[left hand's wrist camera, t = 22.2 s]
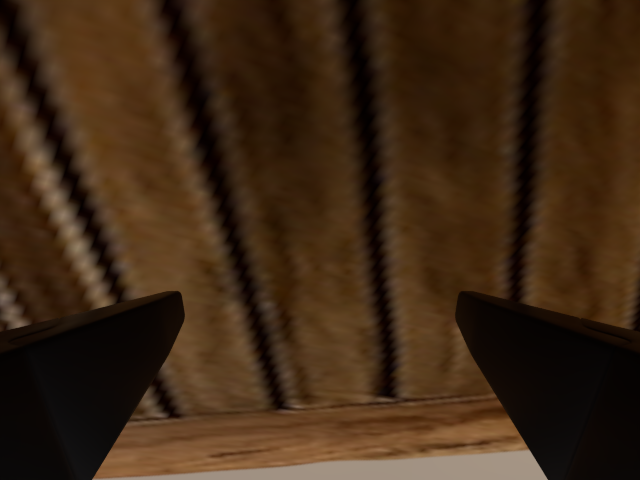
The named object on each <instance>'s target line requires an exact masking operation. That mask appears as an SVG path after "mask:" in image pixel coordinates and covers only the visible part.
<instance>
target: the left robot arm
mask: <svg viewBox="0 0 640 480" xmlns="http://www.w3.org/2000/svg"><path fill="white" fill-rule="evenodd" d="M184 318H185V312H184V306H183V300H182V295H181V293H180V292H179V291H166V292H162V293H158V294H154V295H150V296H146V297H142V298H138V299H134V300H130V301H126V302H122V303H118V304H114V305H110V306H106V307H102V308H98V309H94V310H90V311H86V312H82V313H78V314H74V315H70V316H66V317H62V318H60V319H59V318H57V319H52V320H48V321H44V322H40V323H36V324H32V325H28V326H24V327H19V328H15V329H11V330H6V331H2V332H0V480H92V479H93V477H94V476H95V474H96V472H97V471H98V469H99V467H100V466H101V464H102V463H103V461H104V459H105V458H106V456H107V454H108V453H109V451H110V450H111V448H112V446H113V445H114V443H115V441H116V440H117V438H118V437H119V435H120V433H121V432H122V430H123V428H124V427H125V425H126V424H127V422H128V420H129V419H130V417H131V415H132V414H133V412H134V411H135V409H136V407H137V406H138V404H139V402H140V401H141V399H142V397H143V396H144V394H145V393H146V391H147V389H148V388H149V386H150V384H151V383H152V381H153V380H154V378H155V376H156V375H157V373H158V371H159V370H160V368H161V367H162V365H163V363H164V362H165V360H166V358H167V357H168V355H169V353H170V351H171V349H172V347H173V344H174V342H175V340H176V338H177V336H178V333H179V331H180V329H181V327H182V324H183V322H184ZM455 318H456V322H457V324H458V327H459V329H460V331H461V333H462V336H463V338H464V340H465V342H466V344H467V347H468V349H469V351H470V353H471V355H472V357H473V358H474V360H475V362H476V363H477V365H478V367H479V368H480V370H481V371H482V373H483V375H484V376H485V378H486V380H487V381H488V383H489V384H490V386H491V388H492V389H493V391H494V393H495V394H496V396H497V397H498V399H499V401H500V402H501V404H502V406H503V407H504V409H505V410H506V412H507V414H508V415H509V417H510V419H511V420H512V422H513V424H514V425H515V427H516V428H517V430H518V432H519V433H520V435H521V437H522V438H523V440H524V441H525V443H526V445H527V446H528V448H529V450H530V451H531V453H532V454H533V456H534V458H535V459H536V461H537V463H538V464H539V466H540V467H541V469H542V471H543V472H544V474H545V476H546V477H547V479H548V480H640V332H638V331H634V330H629V329H625V328H621V327H616V326H612V325H608V324H604V323H600V322H596V321H592V320H588V319H583V318H581V319H580V318H578V317H574V316H570V315H566V314H562V313H558V312H554V311H550V310H546V309H542V308H538V307H534V306H530V305H526V304H522V303H518V302H514V301H510V300H506V299H502V298H498V297H494V296H490V295H486V294H482V293H478V292H474V291H461V292H460V293H459V295H458V300H457V306H456V312H455Z"/></svg>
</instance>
